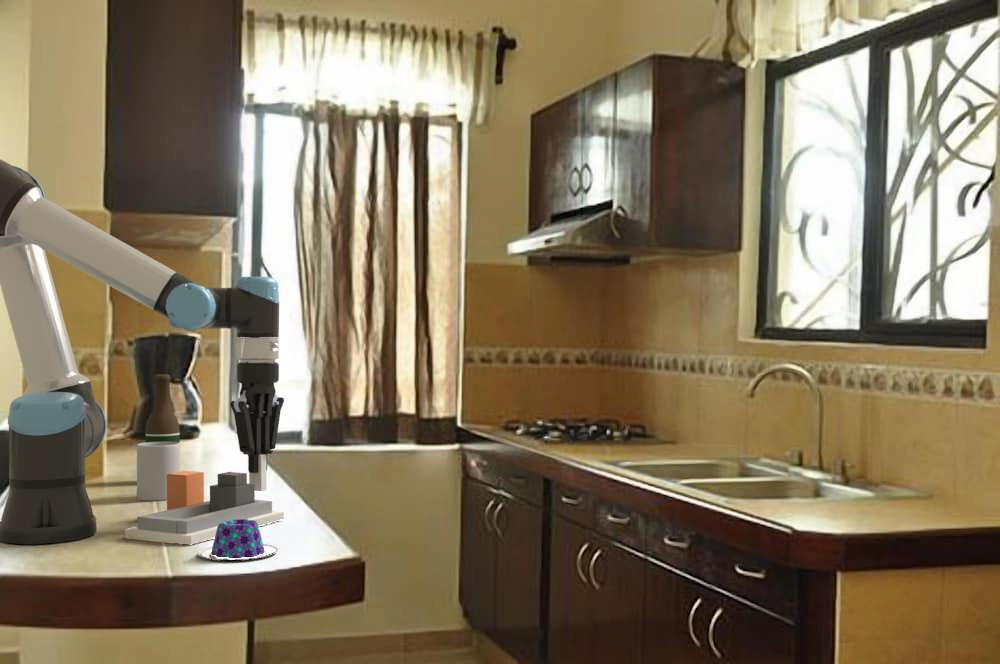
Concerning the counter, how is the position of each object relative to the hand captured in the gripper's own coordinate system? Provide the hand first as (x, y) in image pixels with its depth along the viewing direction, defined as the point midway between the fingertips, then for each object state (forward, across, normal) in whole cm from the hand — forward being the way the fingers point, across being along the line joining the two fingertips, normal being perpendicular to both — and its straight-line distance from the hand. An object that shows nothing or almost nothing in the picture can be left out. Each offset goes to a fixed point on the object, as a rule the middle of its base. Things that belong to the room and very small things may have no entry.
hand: (257, 489), depth 198 cm
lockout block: (+5, -6, +12) cm, 14 cm away
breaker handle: (+3, -7, 0) cm, 8 cm away
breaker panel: (+5, -14, 0) cm, 15 cm away
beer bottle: (+5, +26, +47) cm, 54 cm away
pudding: (+5, -28, -18) cm, 34 cm away
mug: (+5, +10, +33) cm, 35 cm away
